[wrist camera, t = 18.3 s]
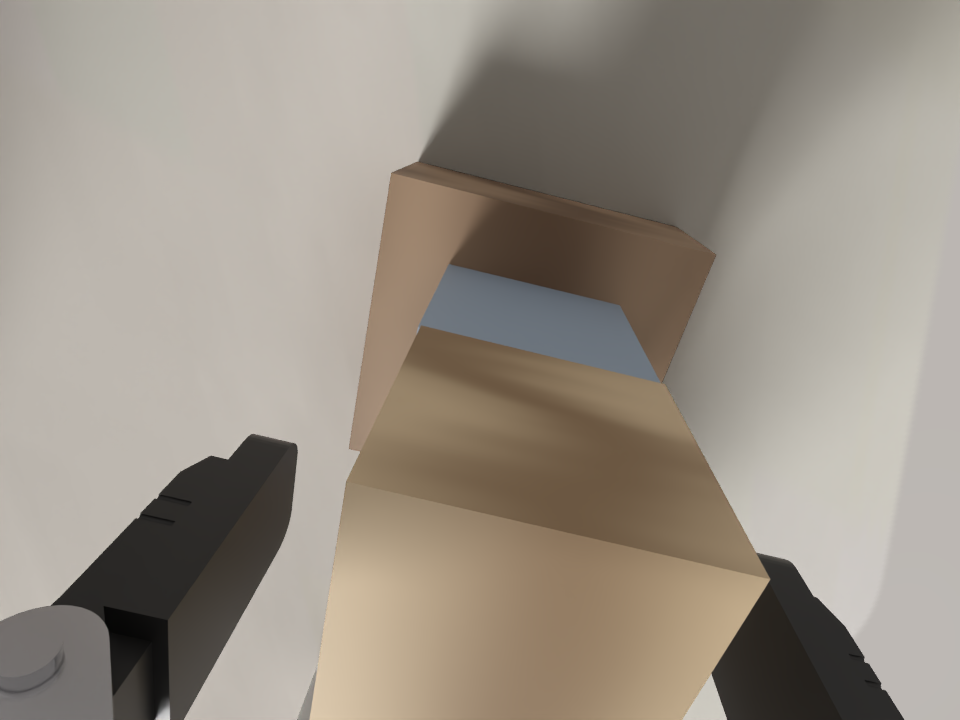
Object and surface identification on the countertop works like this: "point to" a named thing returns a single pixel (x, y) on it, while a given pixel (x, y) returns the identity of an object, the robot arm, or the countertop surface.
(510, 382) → the oak block
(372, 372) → the walnut plinth
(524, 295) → the slate block
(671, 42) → the countertop surface
